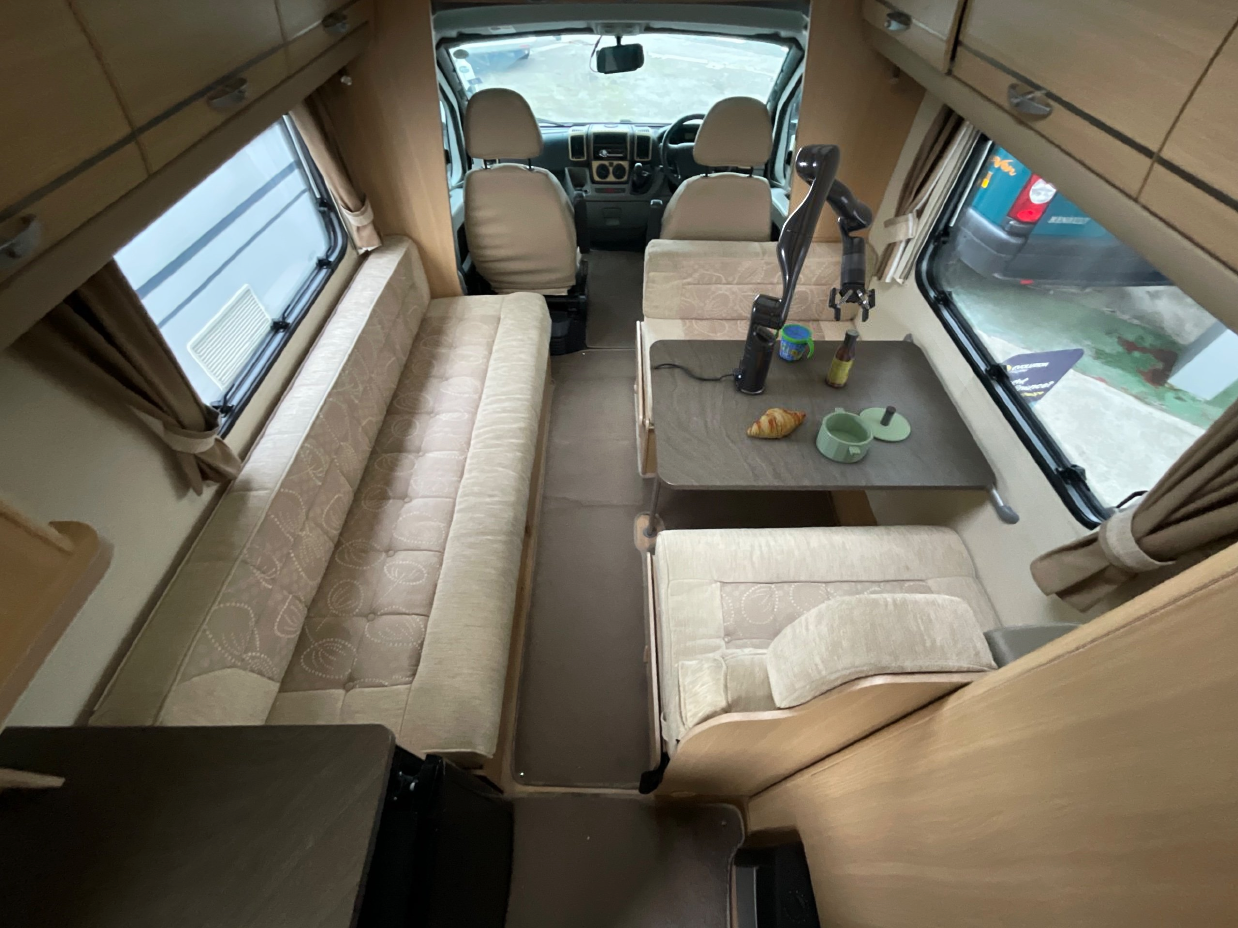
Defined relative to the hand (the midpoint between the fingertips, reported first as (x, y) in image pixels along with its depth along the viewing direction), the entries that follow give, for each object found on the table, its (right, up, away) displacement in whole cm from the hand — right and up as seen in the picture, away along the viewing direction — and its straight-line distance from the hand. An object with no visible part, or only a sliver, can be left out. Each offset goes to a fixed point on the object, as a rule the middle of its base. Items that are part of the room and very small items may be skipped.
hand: (851, 321), depth 181 cm
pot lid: (+9, -34, -4) cm, 35 cm away
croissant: (-26, -35, -5) cm, 44 cm away
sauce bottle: (-1, -18, +12) cm, 22 cm away
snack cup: (-13, -7, +23) cm, 27 cm away
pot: (-8, -41, -10) cm, 43 cm away
